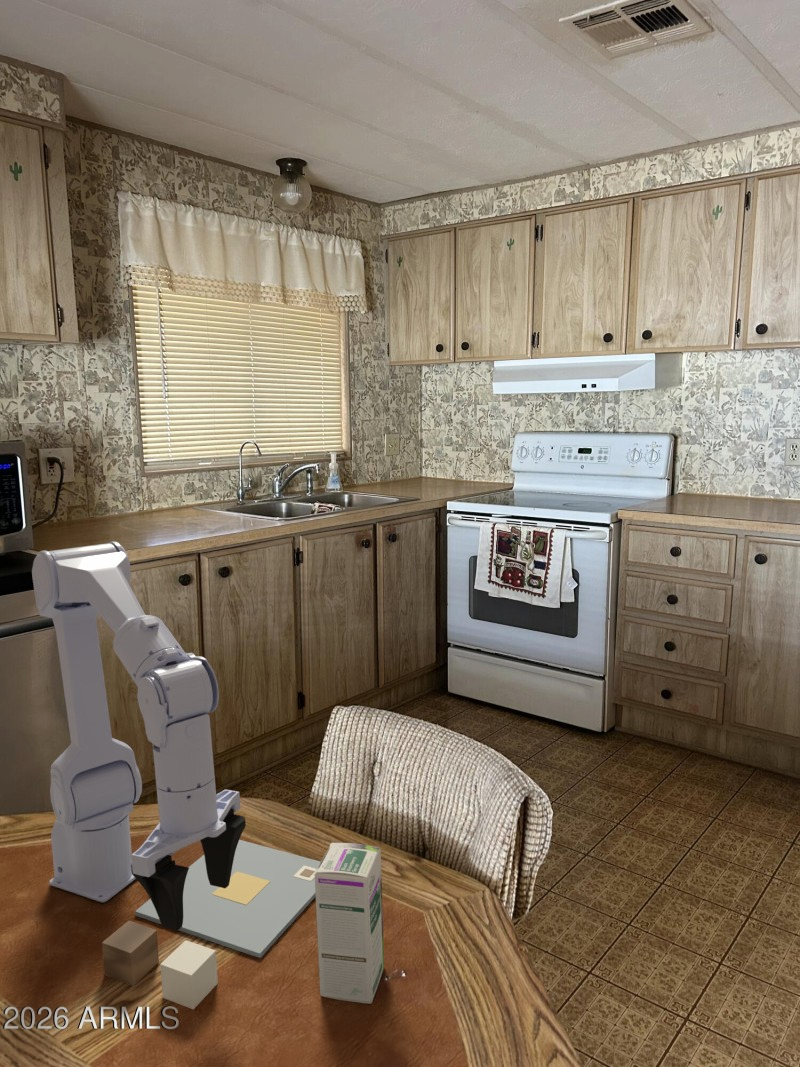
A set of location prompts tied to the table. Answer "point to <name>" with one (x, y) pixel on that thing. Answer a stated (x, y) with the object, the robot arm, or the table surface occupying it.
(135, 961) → the walnut block
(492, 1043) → the table surface
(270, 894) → the board
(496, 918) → the table surface
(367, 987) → the syrup box
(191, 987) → the cream block
